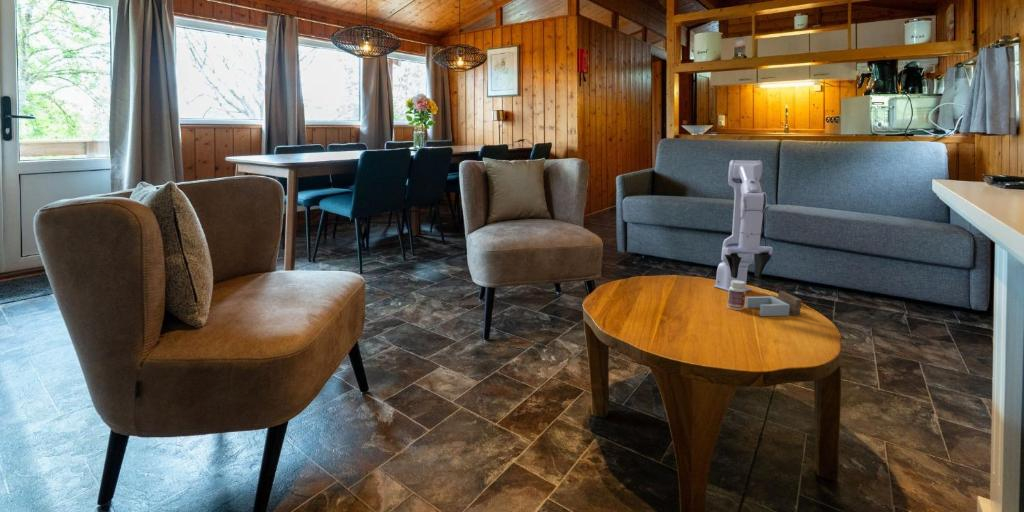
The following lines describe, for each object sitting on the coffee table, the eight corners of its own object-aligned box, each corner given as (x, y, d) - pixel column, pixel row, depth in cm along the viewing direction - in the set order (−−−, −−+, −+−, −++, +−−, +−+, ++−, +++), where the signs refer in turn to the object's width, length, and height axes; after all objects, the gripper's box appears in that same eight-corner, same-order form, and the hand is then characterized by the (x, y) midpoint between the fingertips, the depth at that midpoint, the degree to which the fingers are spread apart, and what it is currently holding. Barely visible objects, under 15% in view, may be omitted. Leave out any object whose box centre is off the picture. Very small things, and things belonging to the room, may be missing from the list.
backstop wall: (794, 316, 158) (796, 299, 157) (776, 306, 166) (778, 291, 165) (799, 315, 158) (801, 299, 157) (781, 306, 167) (783, 291, 166)
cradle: (761, 316, 157) (762, 305, 156) (745, 306, 166) (746, 296, 165) (788, 315, 158) (790, 305, 157) (771, 306, 167) (772, 296, 166)
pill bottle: (745, 310, 162) (748, 284, 161) (728, 309, 163) (731, 283, 161) (742, 306, 167) (744, 280, 165) (726, 305, 168) (728, 279, 166)
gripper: (734, 235, 155) (730, 281, 158) (780, 234, 157) (775, 279, 160) (722, 231, 162) (718, 275, 165) (766, 230, 164) (761, 273, 167)
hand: (745, 277), depth 163 cm, fingers open, 7 cm apart
